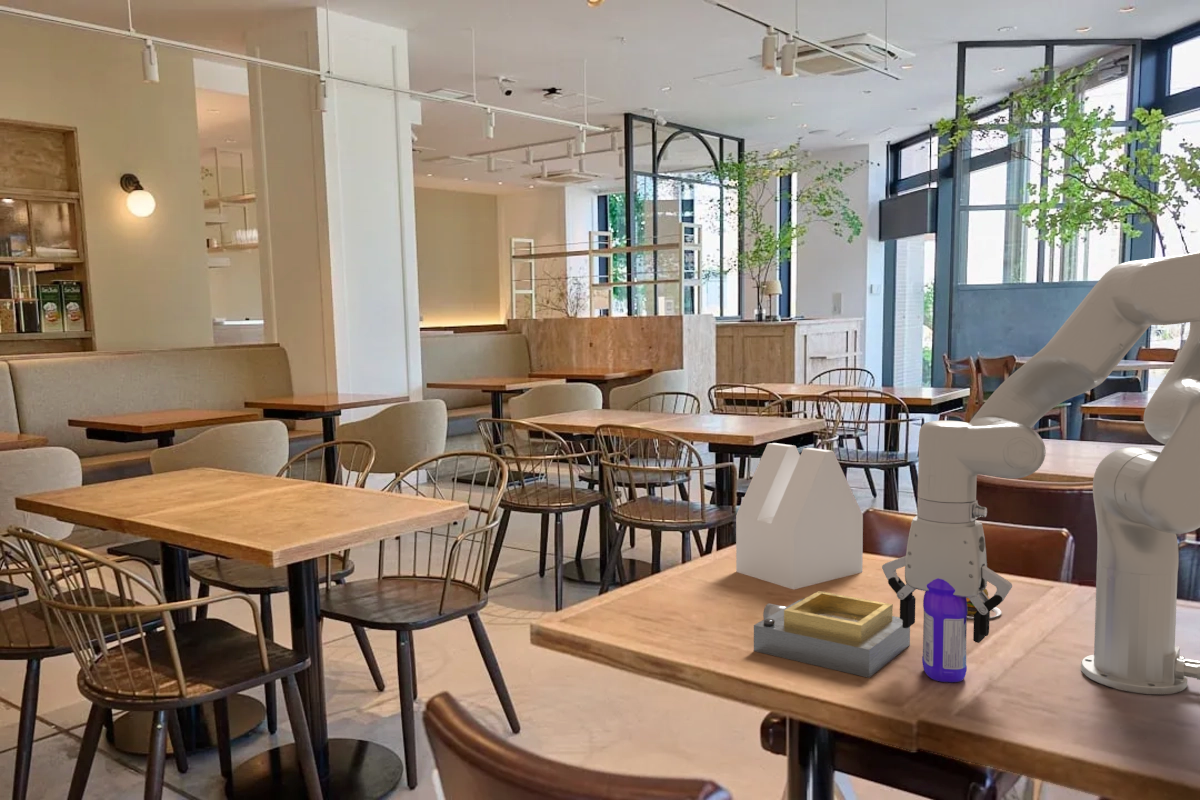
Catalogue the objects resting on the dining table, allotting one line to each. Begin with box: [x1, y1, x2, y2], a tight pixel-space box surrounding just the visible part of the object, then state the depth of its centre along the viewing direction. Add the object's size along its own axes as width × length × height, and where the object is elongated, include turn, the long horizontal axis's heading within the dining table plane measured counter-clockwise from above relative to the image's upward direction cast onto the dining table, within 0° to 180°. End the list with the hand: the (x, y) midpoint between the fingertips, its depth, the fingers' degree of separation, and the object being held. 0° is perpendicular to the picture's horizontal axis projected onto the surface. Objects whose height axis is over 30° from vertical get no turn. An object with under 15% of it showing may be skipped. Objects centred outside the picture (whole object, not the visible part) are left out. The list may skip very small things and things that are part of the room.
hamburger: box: [966, 587, 1002, 620], centre depth 155 cm, size 12×12×6 cm
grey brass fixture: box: [753, 590, 911, 678], centre depth 140 cm, size 22×16×6 cm
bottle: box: [921, 578, 968, 683], centre depth 127 cm, size 7×6×17 cm
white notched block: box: [735, 442, 864, 590], centre depth 181 cm, size 19×15×25 cm
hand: (943, 632), depth 127 cm, fingers open, 9 cm apart
